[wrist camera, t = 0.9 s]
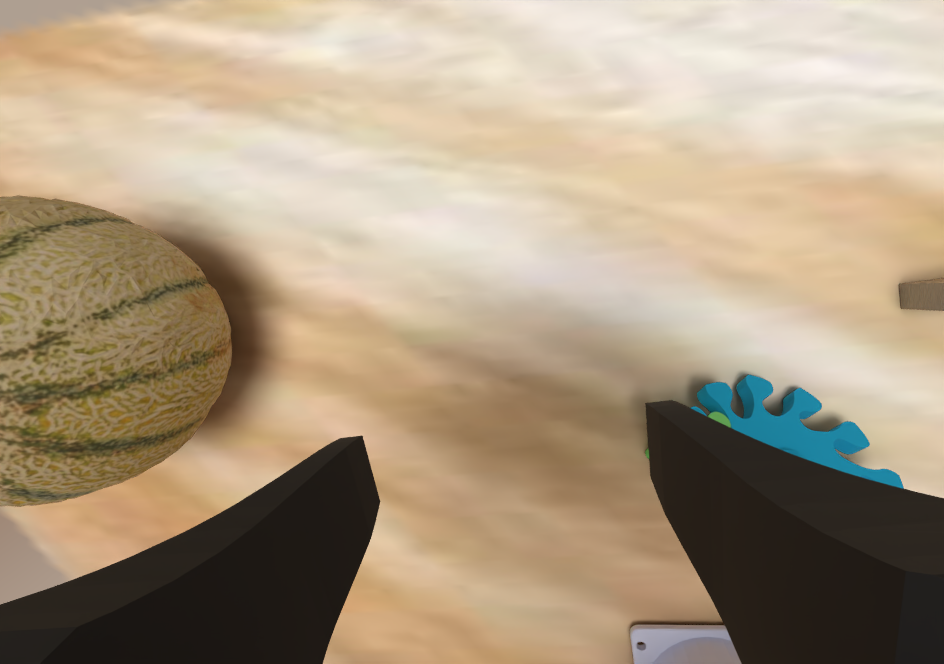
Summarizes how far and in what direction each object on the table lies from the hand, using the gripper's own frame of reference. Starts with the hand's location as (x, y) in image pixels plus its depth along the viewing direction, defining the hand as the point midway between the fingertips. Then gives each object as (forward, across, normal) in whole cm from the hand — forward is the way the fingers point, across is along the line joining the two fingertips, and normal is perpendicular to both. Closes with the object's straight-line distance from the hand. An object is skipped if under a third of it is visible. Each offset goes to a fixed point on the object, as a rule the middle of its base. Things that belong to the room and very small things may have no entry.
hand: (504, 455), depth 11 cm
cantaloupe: (+17, +22, -1) cm, 27 cm away
